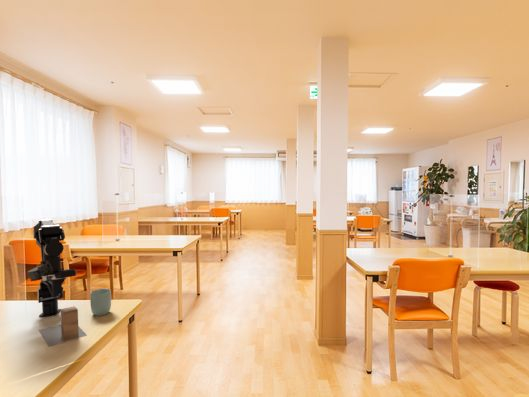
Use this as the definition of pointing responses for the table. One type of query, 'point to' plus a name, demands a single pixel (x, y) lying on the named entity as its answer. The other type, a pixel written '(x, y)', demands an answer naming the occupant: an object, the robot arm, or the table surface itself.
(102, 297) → the cup
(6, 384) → the table surface
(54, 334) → the mat
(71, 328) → the block
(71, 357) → the table surface
